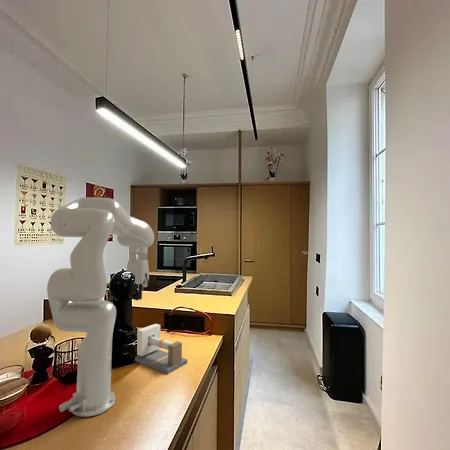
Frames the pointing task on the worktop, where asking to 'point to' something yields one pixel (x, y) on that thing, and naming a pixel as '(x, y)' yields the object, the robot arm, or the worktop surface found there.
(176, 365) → the rod rig
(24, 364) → the worktop surface
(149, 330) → the collar
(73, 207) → the robot arm
